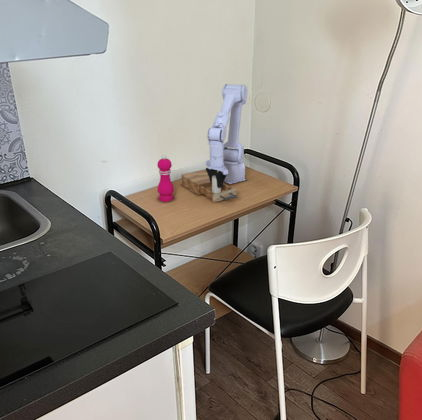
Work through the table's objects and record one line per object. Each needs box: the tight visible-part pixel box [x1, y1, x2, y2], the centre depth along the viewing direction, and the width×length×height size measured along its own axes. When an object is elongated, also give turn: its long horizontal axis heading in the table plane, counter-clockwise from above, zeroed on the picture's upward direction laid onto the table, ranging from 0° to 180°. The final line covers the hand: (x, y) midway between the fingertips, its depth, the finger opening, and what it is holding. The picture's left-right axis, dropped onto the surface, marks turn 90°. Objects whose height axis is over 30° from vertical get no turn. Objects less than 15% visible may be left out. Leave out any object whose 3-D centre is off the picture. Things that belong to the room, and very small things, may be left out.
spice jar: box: [212, 175, 221, 193], centre depth 192 cm, size 4×4×7 cm
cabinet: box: [181, 168, 210, 196], centre depth 203 cm, size 15×13×5 cm
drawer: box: [200, 183, 238, 203], centre depth 192 cm, size 18×11×3 cm, turn 27°
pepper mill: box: [156, 154, 175, 203], centre depth 190 cm, size 7×7×20 cm
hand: (216, 185), depth 192 cm, fingers open, 5 cm apart
